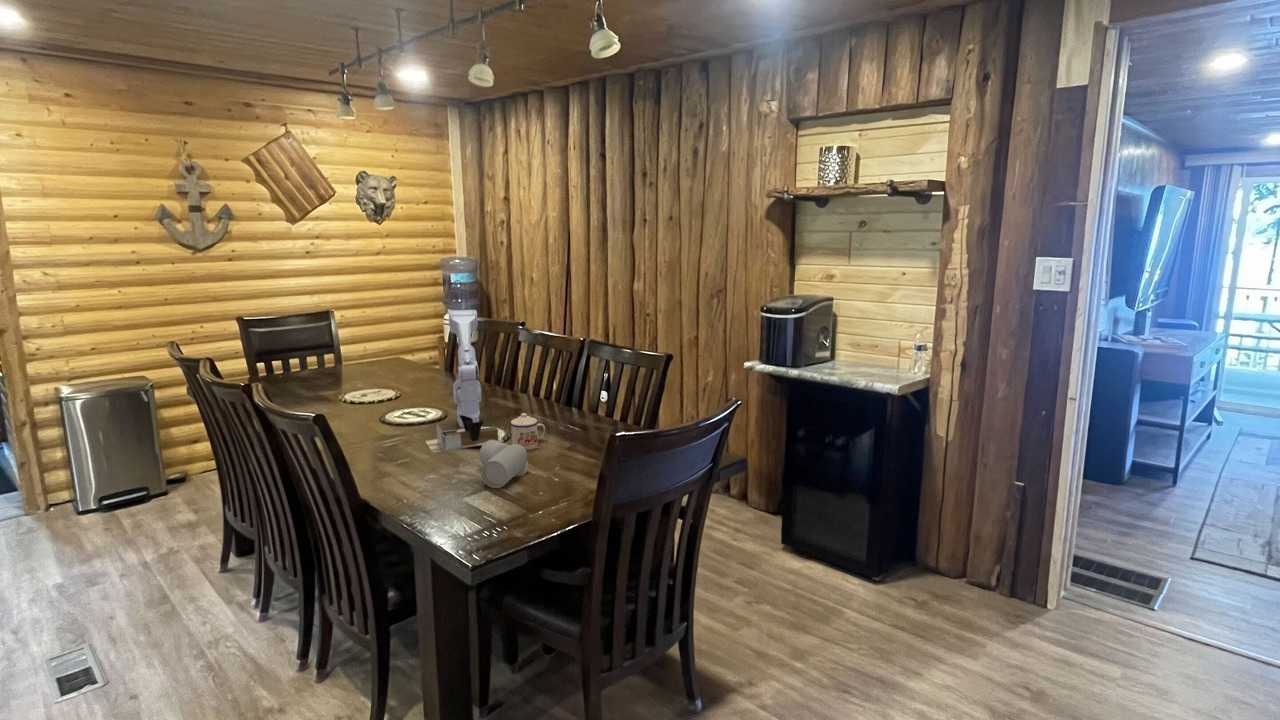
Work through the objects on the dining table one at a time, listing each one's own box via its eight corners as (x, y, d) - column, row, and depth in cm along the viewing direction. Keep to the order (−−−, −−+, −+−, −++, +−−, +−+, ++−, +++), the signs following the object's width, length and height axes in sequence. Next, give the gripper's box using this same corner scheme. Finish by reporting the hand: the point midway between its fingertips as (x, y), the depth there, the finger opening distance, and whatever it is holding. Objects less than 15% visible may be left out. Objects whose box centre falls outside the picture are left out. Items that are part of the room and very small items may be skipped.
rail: (446, 445, 236) (445, 433, 235) (495, 437, 243) (495, 426, 242) (448, 448, 232) (447, 436, 232) (498, 440, 240) (497, 429, 239)
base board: (425, 443, 241) (424, 440, 240) (493, 433, 251) (493, 430, 251) (433, 455, 228) (432, 452, 228) (504, 444, 239) (504, 441, 239)
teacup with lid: (517, 452, 231) (515, 419, 228) (507, 445, 238) (506, 412, 236) (550, 446, 236) (549, 413, 234) (540, 439, 244) (539, 407, 242)
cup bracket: (437, 444, 236) (436, 424, 235) (456, 441, 239) (455, 421, 238) (442, 451, 229) (441, 430, 228) (461, 448, 232) (460, 428, 231)
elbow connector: (547, 471, 210) (507, 456, 224) (540, 441, 207) (499, 427, 220) (500, 500, 199) (461, 483, 212) (492, 469, 195) (452, 452, 209)
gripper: (453, 395, 239) (455, 433, 242) (463, 405, 227) (465, 445, 229) (473, 393, 242) (475, 430, 245) (484, 402, 230) (486, 442, 232)
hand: (472, 437), depth 237 cm, fingers open, 7 cm apart
